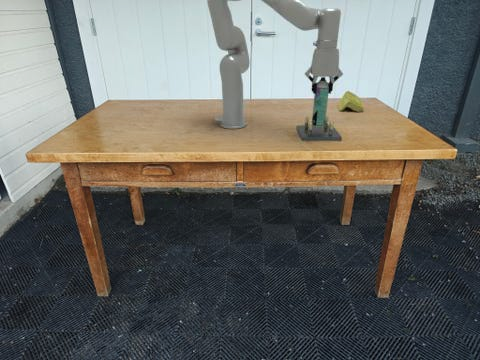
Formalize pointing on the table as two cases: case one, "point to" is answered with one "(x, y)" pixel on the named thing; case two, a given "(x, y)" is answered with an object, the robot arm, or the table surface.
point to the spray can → (320, 103)
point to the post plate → (318, 132)
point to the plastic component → (350, 102)
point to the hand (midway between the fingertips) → (321, 92)
